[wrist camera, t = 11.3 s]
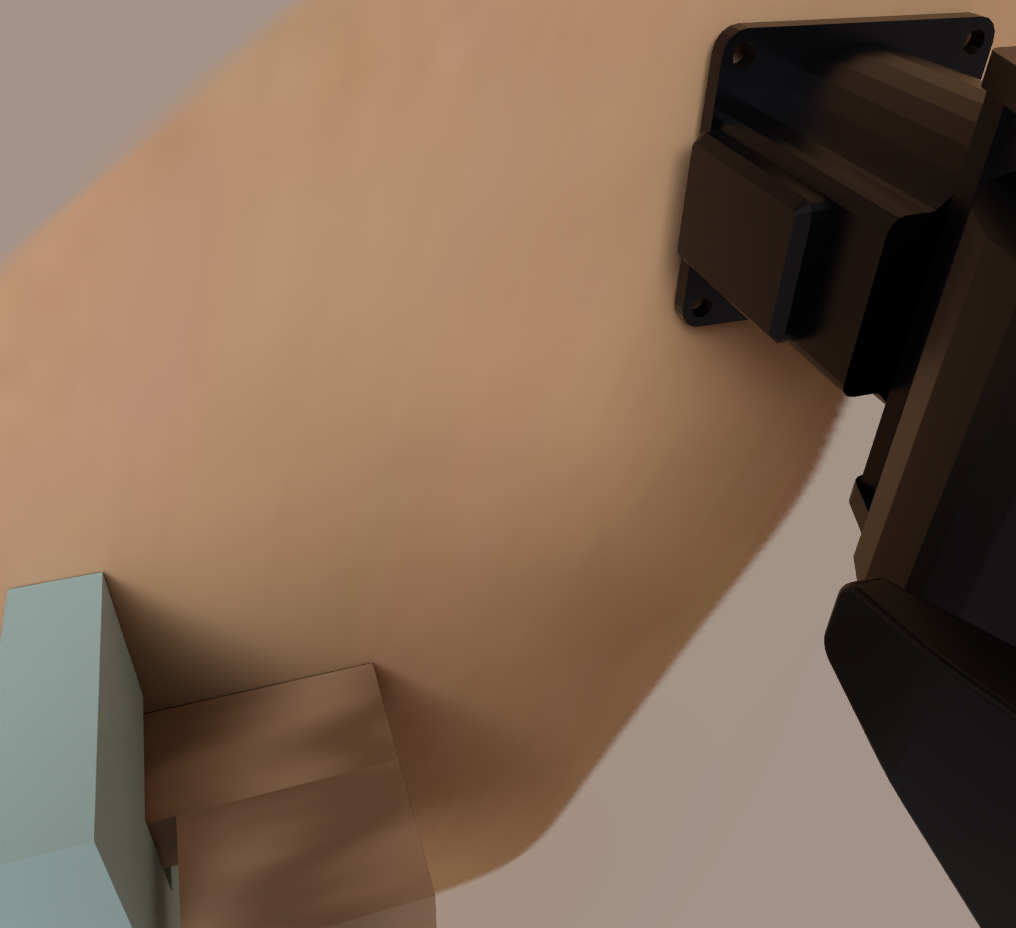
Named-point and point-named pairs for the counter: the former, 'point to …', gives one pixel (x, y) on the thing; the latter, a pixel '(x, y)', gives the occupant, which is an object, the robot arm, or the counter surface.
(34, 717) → the teal slotted plate
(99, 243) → the counter surface
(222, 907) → the walnut slotted plate
